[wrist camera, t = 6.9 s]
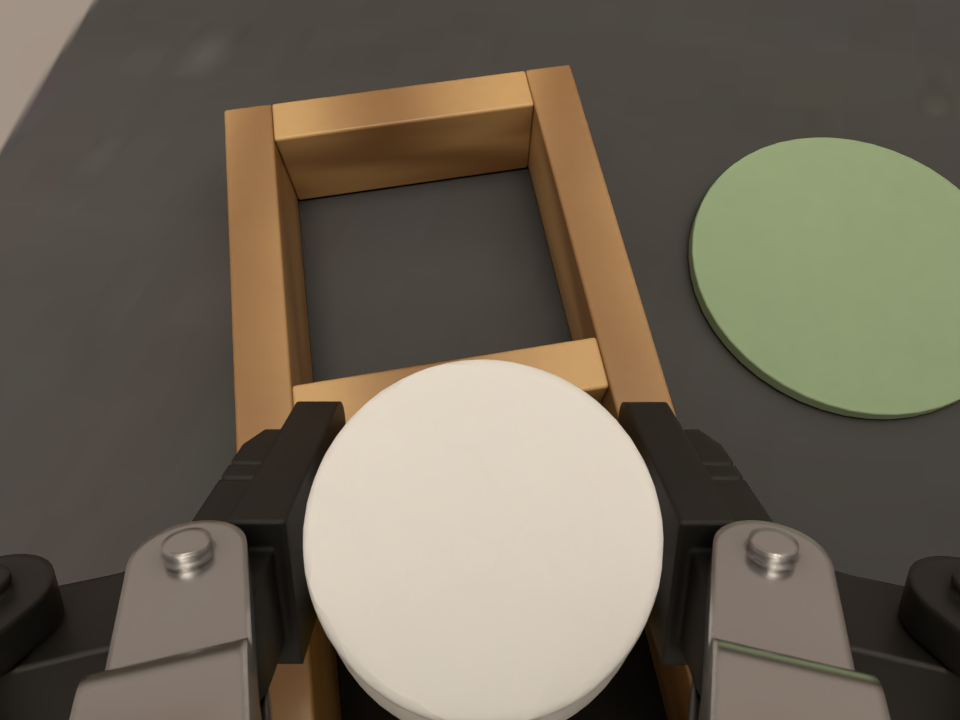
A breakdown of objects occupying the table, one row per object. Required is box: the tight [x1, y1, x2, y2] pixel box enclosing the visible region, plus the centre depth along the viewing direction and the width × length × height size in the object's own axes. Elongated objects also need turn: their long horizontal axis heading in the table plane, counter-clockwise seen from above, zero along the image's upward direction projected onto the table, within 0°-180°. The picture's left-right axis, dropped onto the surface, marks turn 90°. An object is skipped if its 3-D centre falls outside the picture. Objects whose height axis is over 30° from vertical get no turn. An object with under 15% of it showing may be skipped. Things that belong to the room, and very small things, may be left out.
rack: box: [225, 65, 692, 720], centre depth 16 cm, size 9×17×2 cm, turn 10°
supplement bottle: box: [303, 359, 664, 720], centre depth 11 cm, size 5×5×8 cm
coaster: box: [688, 138, 960, 419], centre depth 18 cm, size 8×8×1 cm
